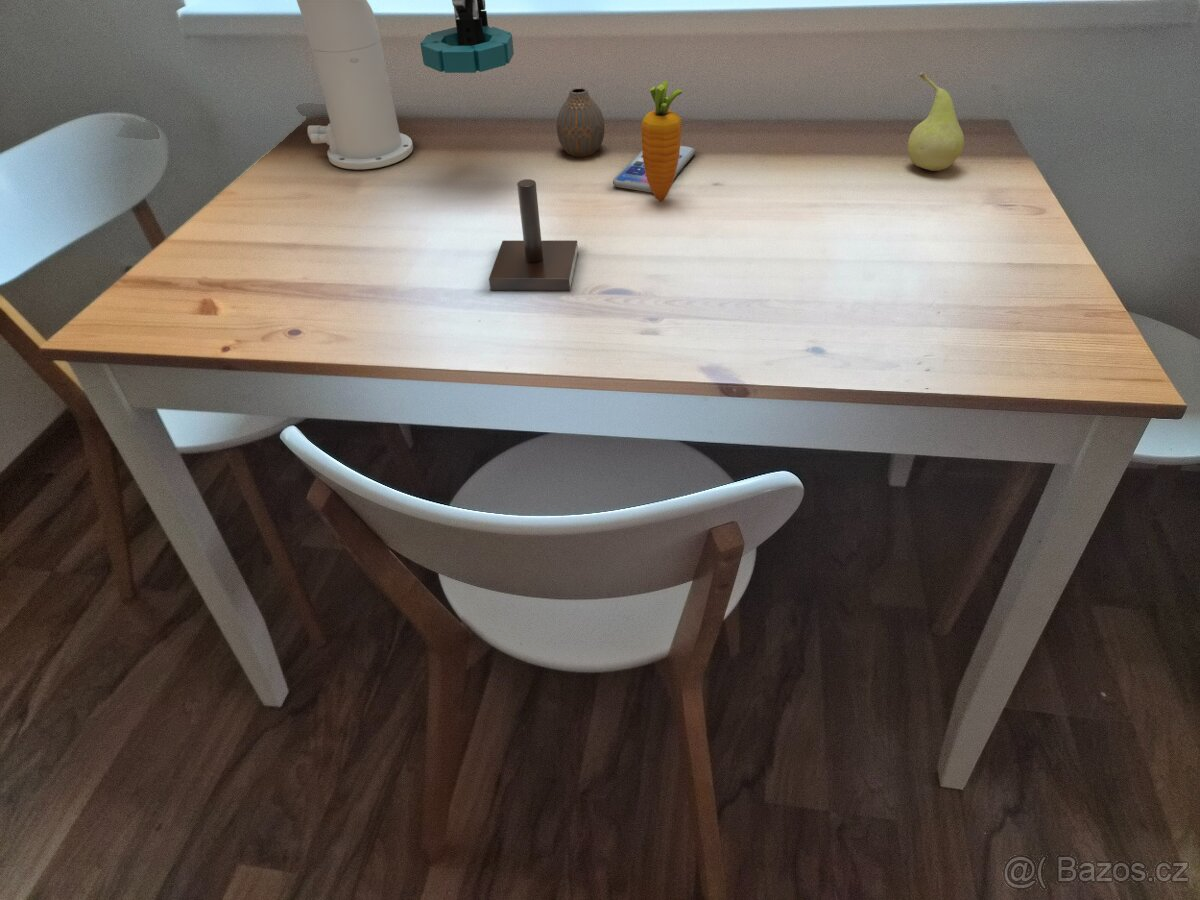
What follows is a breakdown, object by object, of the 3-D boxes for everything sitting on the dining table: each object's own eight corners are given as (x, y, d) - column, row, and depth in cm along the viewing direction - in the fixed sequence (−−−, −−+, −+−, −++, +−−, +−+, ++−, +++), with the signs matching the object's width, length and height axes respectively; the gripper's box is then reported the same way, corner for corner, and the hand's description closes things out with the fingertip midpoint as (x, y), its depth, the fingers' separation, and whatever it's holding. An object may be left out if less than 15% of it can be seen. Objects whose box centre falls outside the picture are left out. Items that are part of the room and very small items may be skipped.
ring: (416, 73, 98) (412, 51, 96) (436, 46, 106) (433, 26, 104) (504, 72, 97) (502, 51, 95) (518, 46, 105) (516, 25, 103)
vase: (607, 143, 121) (605, 81, 115) (602, 161, 116) (600, 98, 110) (562, 143, 122) (557, 82, 116) (555, 161, 117) (550, 98, 111)
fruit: (949, 183, 106) (973, 88, 98) (892, 172, 109) (911, 79, 101) (962, 164, 110) (986, 72, 102) (907, 155, 113) (926, 64, 105)
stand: (490, 290, 90) (477, 201, 83) (503, 251, 97) (492, 166, 90) (570, 290, 90) (563, 200, 83) (578, 251, 96) (572, 165, 89)
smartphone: (697, 146, 116) (661, 188, 106) (697, 153, 117) (661, 195, 107) (649, 140, 118) (609, 180, 108) (649, 146, 119) (609, 187, 109)
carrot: (656, 190, 108) (657, 72, 98) (687, 199, 106) (691, 79, 96) (633, 204, 105) (632, 83, 95) (664, 213, 103) (666, 91, 93)
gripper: (438, -133, 98) (459, 31, 111) (403, -113, 86) (432, 69, 99) (498, -135, 98) (513, 31, 110) (472, -115, 86) (492, 68, 98)
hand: (475, 47), depth 104 cm, fingers closed on ring, 2 cm apart
